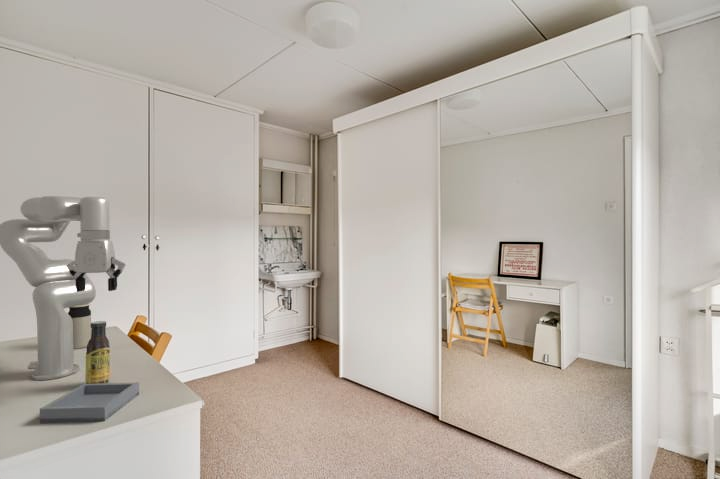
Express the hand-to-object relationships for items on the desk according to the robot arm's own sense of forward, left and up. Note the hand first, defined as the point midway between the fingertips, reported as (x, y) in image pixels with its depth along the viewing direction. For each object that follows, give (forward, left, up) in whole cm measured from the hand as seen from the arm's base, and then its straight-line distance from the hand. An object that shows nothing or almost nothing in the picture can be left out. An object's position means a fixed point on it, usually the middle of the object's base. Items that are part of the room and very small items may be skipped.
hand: (96, 290), depth 119 cm
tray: (+9, -16, -30) cm, 35 cm away
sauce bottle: (0, 0, -30) cm, 30 cm away
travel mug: (-35, +43, -30) cm, 63 cm away
